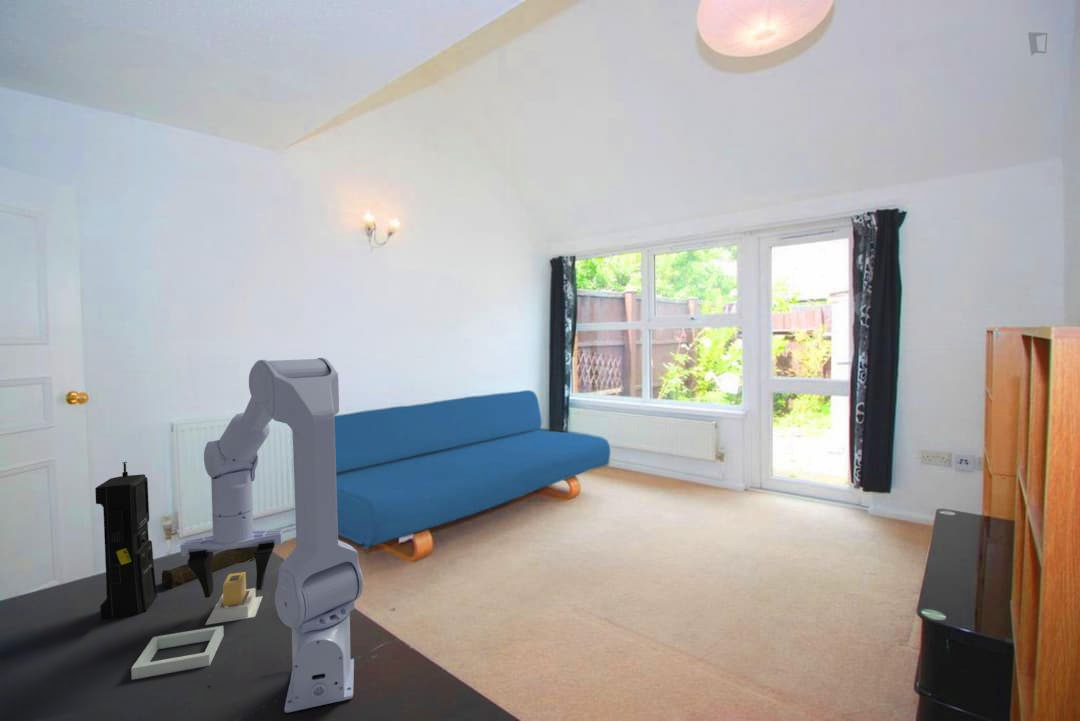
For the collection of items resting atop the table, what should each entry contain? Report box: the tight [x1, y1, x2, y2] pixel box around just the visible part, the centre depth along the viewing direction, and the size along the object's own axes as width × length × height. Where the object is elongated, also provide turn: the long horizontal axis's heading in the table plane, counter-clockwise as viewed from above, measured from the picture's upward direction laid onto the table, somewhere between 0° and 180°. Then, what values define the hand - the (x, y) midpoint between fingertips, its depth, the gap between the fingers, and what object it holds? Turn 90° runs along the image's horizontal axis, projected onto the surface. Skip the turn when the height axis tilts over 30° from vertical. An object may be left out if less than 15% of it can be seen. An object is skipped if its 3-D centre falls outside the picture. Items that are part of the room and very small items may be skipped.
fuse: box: [222, 571, 247, 607], centre depth 85 cm, size 4×2×6 cm, turn 19°
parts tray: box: [130, 625, 225, 681], centre depth 73 cm, size 8×9×2 cm
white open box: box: [205, 587, 264, 626], centre depth 85 cm, size 7×7×3 cm
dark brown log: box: [161, 546, 258, 589], centre depth 101 cm, size 19×4×5 cm, turn 147°
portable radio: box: [94, 461, 158, 620], centre depth 85 cm, size 8×6×25 cm
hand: (234, 591), depth 85 cm, fingers open, 7 cm apart
